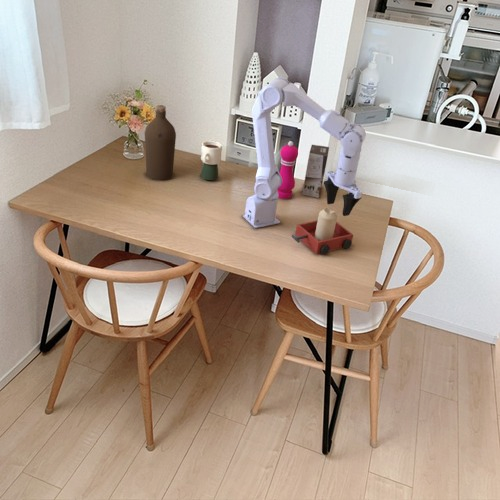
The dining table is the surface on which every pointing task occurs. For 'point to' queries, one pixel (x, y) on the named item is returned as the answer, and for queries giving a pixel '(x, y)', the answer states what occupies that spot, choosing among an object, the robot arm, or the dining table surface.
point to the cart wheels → (325, 247)
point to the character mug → (210, 159)
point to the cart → (315, 245)
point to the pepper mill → (287, 170)
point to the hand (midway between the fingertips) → (338, 209)
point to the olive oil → (160, 146)
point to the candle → (325, 225)
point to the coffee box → (315, 170)
